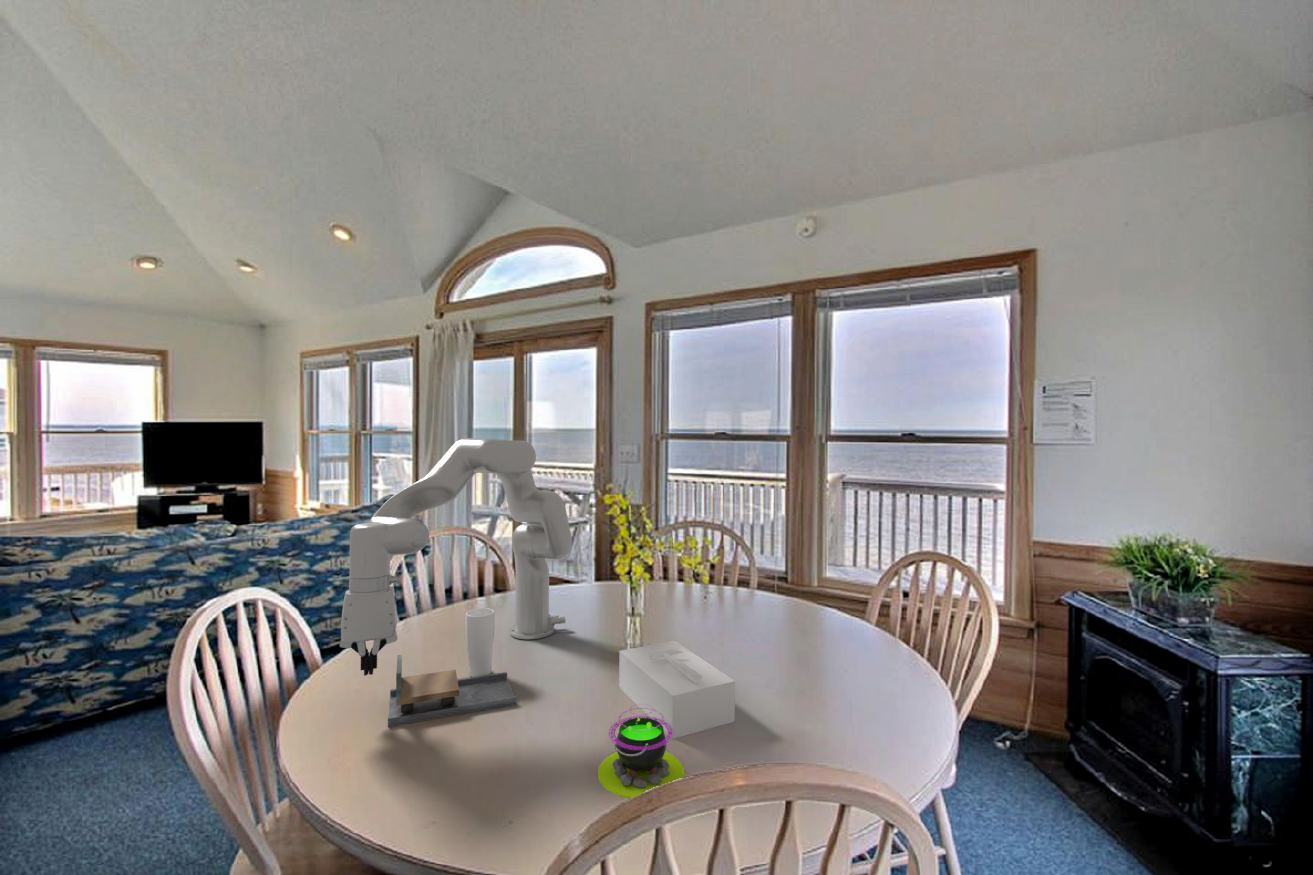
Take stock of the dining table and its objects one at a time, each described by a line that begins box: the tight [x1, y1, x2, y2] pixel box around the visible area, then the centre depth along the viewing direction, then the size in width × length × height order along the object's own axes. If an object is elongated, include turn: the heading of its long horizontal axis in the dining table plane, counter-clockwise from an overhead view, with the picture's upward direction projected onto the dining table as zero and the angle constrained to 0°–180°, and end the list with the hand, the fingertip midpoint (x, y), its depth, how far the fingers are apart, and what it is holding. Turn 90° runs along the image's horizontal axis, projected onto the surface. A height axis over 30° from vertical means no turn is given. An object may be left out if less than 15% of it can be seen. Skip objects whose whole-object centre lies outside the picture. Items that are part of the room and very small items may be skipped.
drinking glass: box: [464, 607, 496, 677], centre depth 141 cm, size 7×7×15 cm
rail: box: [387, 671, 517, 728], centre depth 127 cm, size 25×14×2 cm, turn 113°
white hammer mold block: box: [618, 640, 736, 740], centre depth 127 cm, size 14×25×11 cm, turn 28°
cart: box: [395, 654, 459, 714], centre depth 125 cm, size 12×11×9 cm
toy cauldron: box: [597, 704, 685, 799], centre depth 101 cm, size 15×15×11 cm
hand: (368, 672), depth 120 cm, fingers closed
